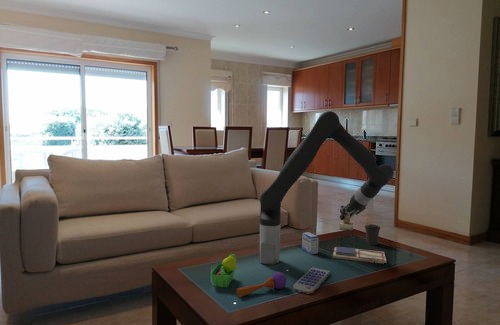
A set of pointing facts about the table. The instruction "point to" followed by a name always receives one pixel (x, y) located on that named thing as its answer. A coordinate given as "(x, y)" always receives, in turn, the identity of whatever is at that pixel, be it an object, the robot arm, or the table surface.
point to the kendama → (264, 284)
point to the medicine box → (310, 243)
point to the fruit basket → (224, 272)
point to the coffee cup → (372, 234)
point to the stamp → (346, 223)
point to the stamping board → (364, 256)
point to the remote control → (311, 280)
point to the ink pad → (345, 251)
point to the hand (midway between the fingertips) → (343, 218)
